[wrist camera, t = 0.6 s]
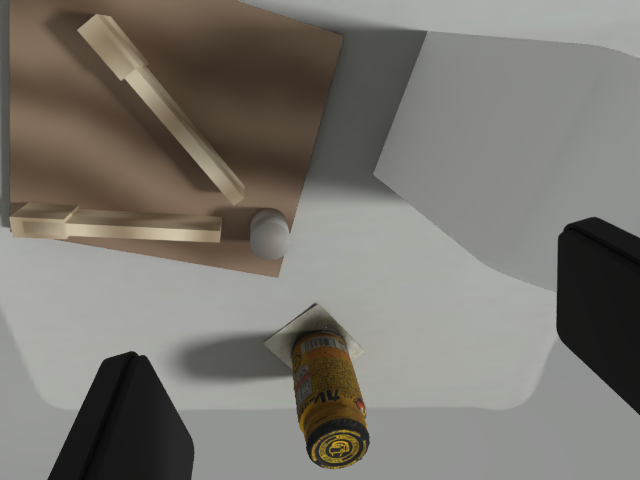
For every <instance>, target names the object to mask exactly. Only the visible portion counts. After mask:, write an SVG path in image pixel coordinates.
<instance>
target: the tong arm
mask: <svg viewBox="0 0 640 480" xmlns="http://www.w3.org/2000/svg"><path fill="white" fill-rule="evenodd" d="M77 31H78V32H79V33H80V34H81V35H82V36H83V38H84V39H85V40H86V41H87V42H88V43H89V45H90V46H91V47H92V48H93V49H94V50H95V52H96V53H97V54H98V55H99V56H100V57H101V58H102V60H103V61H104V62H105V63H106V64H107V65H108V67H109V68H110V69H111V70H112V71H113V72H114V74H115V75H116V76H117V77H118V78H119V79H120V80H121V81H122V80H125V79H126V81H127V82H128V83H129V84H130V85H131V87H132V88H133V89H134V90H135V91H136V92H137V94H138V95H139V96H140V97H141V98H142V99H143V101H144V102H145V103H146V104H147V105H148V106H149V108H150V109H151V110H152V111H153V112H154V113H155V115H156V116H157V117H158V118H159V119H160V120H161V122H162V123H163V124H164V125H165V126H166V127H167V129H168V130H169V131H170V132H171V133H172V134H173V136H174V137H175V138H176V139H177V140H178V141H179V143H180V144H181V145H182V146H183V147H184V148H185V150H186V151H187V152H188V153H189V154H190V155H191V157H192V158H193V159H194V160H195V161H196V162H197V164H198V165H199V166H200V167H201V168H202V169H203V171H204V172H205V173H206V174H207V175H208V176H209V178H210V179H211V180H212V181H213V182H214V183H215V185H216V186H217V187H218V188H219V189H220V190H221V192H222V193H223V194H224V195H225V196H226V197H227V199H228V200H229V201H230V202H231V203H232V204H233V206H234V205H235V204H237V203H238V202H240V201H241V200H242V199H244V188H245V186H244V185H243V184H242V183H241V181H240V180H239V179H238V178H237V176H236V175H235V174H234V173H233V172H232V170H231V169H230V168H229V167H228V166H227V164H226V163H225V162H224V161H223V159H222V158H221V157H220V156H219V155H218V153H217V152H216V151H215V150H214V148H213V147H212V146H211V145H210V144H209V142H208V141H207V140H206V139H205V137H204V136H203V135H202V134H201V133H200V131H199V130H198V129H197V128H196V127H195V125H194V124H193V123H192V122H191V120H190V119H189V118H188V117H187V116H186V114H185V113H184V112H183V111H182V109H181V108H180V107H179V106H178V105H177V103H176V102H175V101H174V100H173V98H172V97H171V96H170V95H169V94H168V92H167V91H166V90H165V89H164V88H163V86H162V85H161V84H160V83H159V81H158V80H157V79H156V78H155V77H154V75H153V74H152V73H151V72H150V70H149V69H148V68H147V67H146V66H147V65H148V64H149V63H148V62H147V60H146V59H145V58H144V57H143V55H142V54H141V53H140V52H139V50H138V49H137V48H136V47H135V46H134V44H133V43H132V42H131V41H130V39H129V38H128V37H127V36H126V35H125V33H124V32H123V31H122V30H121V28H120V27H119V26H118V25H117V23H116V22H115V21H114V20H113V19H112V17H111V16H105V15H99V14H96V15H95V16H93V17H92V18H91V19H90V20H89V21H87V22H86V23H85V24H84V25H83V26H81V27H80V28H79V29H78V30H77Z"/></svg>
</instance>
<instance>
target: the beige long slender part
mask: <svg viewBox="0 0 640 480" xmlns="http://www.w3.org/2000/svg"><path fill="white" fill-rule="evenodd" d="M9 219H10V224H11V229H12V234H13V237H25V238H48V239H67V238H68V237H69V236H84V237H106V238H128V239H151V240H173V241H195V242H217V243H219V242H220V236H221V230H222V217H215V216H197V215H179V214H161V213H143V212H125V211H107V210H89V209H79V205H63V204H45V203H28V204H26V205H25V206H23V207H22V208H21V209H19V210H18V211H16V212H15V213H14V214H12V215H11V216H10V217H9ZM290 244H291V239H290V234H289V229H288V224H287V220H286V217H285V215H284V214H283V213H282V212H281V211H279V210H277V209H275V208H263V209H261V210H259V211H257V212H256V213H255V214H254V215H253V217H252V219H251V223H250V245H251V249H252V251H253V252H254V253H255V255H257V256H258V257H259V258H261V259H264V260H276V259H279V258H281V257H282V256H284V255H285V254H286V253H287V252H288V250H289V248H290Z"/></svg>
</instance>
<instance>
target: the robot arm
mask: <svg viewBox="0 0 640 480" xmlns="http://www.w3.org/2000/svg"><path fill="white" fill-rule="evenodd" d="M556 327H557V332H558V335H559V337H560V339H561V341H562V342H563V343H564V344H565V345H566V346H567V347H568V348H569V349H570V350H571V351H572V352H573V353H574V354H575V355H577V356H578V357H579V358H580V359H581V360H582V361H583V362H584V363H585V364H586V365H587V366H588V367H589V368H591V369H592V371H594V372H595V373H596V374H597V375H598V376H599V377H600V378H601V379H602V380H603V381H604V382H605V383H606V384H607V385H609V387H611V388H612V389H613V390H614V391H615V392H616V393H617V394H618V395H619V396H620V397H621V398H622V399H623V400H624V401H625V402H627V403H628V404H629V405H630V406H631V407H632V408H633V409H634V410H635V411H636V412H637V413H638V414H639V415H640V238H639V237H637V236H635V235H633V234H631V233H629V232H627V231H625V230H623V229H621V228H619V227H617V226H615V225H613V224H610V223H608V222H606V221H604V220H602V219H600V218H597V217H590V218H587V219H583V220H580V221H576V222H573V223H569V224H567V225H566V226H565V227H564V229H563V232H562V233H560V234H559V236H558V253H557V322H556ZM193 461H194V445H193V441H192V438H191V436H190V434H189V432H188V430H187V429H186V427H185V425H184V423H183V421H182V420H181V418H180V416H179V414H178V413H177V410H176V409H175V407H174V405H173V403H172V401H171V400H170V398H169V396H168V394H167V392H166V390H165V389H164V387H163V385H162V383H161V381H160V380H159V378H158V376H157V374H156V372H155V370H154V369H153V367H152V365H151V363H150V361H149V360H148V358H147V357H146V356H145V355H141V356H138V354H137V353H135V352H133V351H131V352H127V353H124V354H120V355H117V356H113V357H110V358H107V359H105V360H104V361H103V362H102V364H101V366H100V368H99V370H98V372H97V374H96V376H95V379H94V381H93V383H92V385H91V387H90V389H89V391H88V394H87V396H86V398H85V400H84V402H83V404H82V407H81V409H80V411H79V413H78V415H77V417H76V419H75V422H74V424H73V426H72V428H71V430H70V432H69V435H68V437H67V439H66V441H65V443H64V445H63V447H62V449H61V452H60V454H59V456H58V458H57V460H56V462H55V465H54V467H53V469H52V471H51V473H50V475H49V477H48V480H191V476H192V468H193Z"/></svg>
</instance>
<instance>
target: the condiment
mask: <svg viewBox="0 0 640 480" xmlns="http://www.w3.org/2000/svg"><path fill="white" fill-rule="evenodd" d="M326 327H327V328H326ZM290 341H292V343H290ZM291 344H292V346H290V345H291ZM263 345H264V346H266V347H267V348H268V349H269V350H270V351H271V352H272V353H273V354H274V355H275V356H277V357H278V358H279V359H280V360H281V361H282V362H284V363H285V364H286V365H287V366H289V367H290V368H291V369H292V370H293V380H294V391H295V398H296V405H297V415H298V422H299V425H300V428H301V431H302V432H303V434H304V437H305V441H306V445H307V446H306V450H307V452H308V455H309V457H310V459H311V460H312V461H313V462H314V463H315V464H317V465H318V466H320V467H323V468H329V469H339V468H344V467H347V466H350V465H352V464H354V463H356V462H357V461H358V460H361V459H362V457H363V456H364V454H365V453H366V452H367V449H368V446H369V444H370V442H369V433H368V431H367V425H366V422H365V420H366V407H365V405H364V402H363V399H362V395H361V392H360V388H359V385H358V382H357V378H356V375H355V372H354V369H353V365H352V362H351V361H352V360H354V359H356V358H357V357H359V356H360V355H362V354H363V353H364V352H365V351H364V350H363V349H362V348H361V347H360V346H359V345H358V343H357V342H356V341H355V340H353V338H352V337H351V336H350V335H349V334H348V333H347V332H346V331H345V330H344V329H343V328H342V327H341V326H340V325H339V324H338V323H337V322H336V321H335V320H334V319H333V318H332V317H331V316H330V315H329V314H328V313H327V312H326V311H325V310H324V309H323V308H322V307H321V306H320V305H319V304H318V305H316V306H315V307H313V308H311V309H310V310H308V311H307V312H305V313H304V314H302V315H301V316H300V317H298V318H297V319H295V320H294V321H292V322H291V323H290V324H288V325H287V326H285V327H284V328H283V329H282V330H280V331H279V332H278V333H276V334H274V335H273V336H272V337H271V338H269V339H268V340H267V341H265V342H264V343H263Z"/></svg>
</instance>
